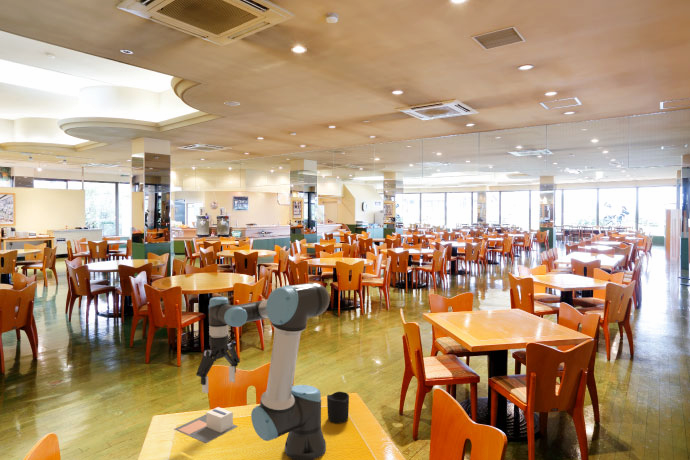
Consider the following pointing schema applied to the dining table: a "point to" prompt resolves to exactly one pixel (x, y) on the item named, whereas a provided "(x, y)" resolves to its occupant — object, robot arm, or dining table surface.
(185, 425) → the mat
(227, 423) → the white box
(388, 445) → the dining table surface
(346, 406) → the pen holder
